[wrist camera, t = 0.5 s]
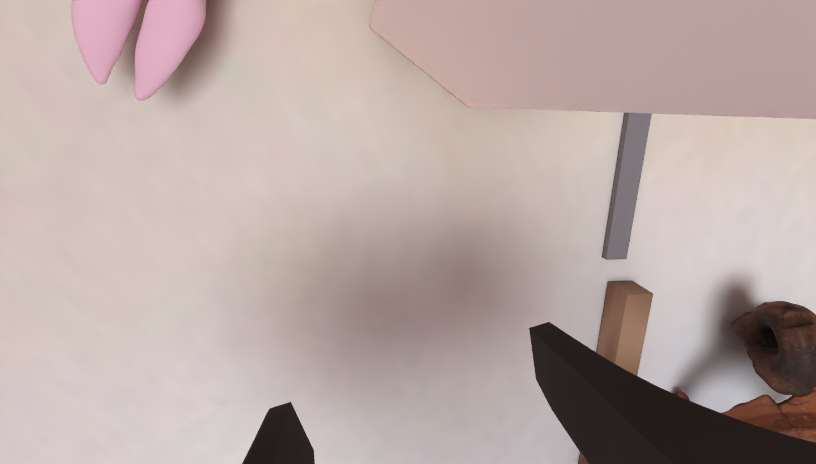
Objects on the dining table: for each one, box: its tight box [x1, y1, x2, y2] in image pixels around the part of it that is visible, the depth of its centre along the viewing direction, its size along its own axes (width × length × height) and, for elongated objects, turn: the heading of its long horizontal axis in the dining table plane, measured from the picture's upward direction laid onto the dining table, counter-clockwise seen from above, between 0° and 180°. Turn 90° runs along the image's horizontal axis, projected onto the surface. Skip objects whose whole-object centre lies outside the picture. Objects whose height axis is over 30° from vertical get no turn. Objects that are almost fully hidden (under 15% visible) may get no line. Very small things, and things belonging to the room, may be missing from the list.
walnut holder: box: [579, 281, 816, 464], centre depth 27 cm, size 14×19×2 cm
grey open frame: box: [602, 113, 651, 260], centre depth 23 cm, size 16×20×1 cm
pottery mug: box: [677, 301, 816, 440], centre depth 25 cm, size 12×10×8 cm
